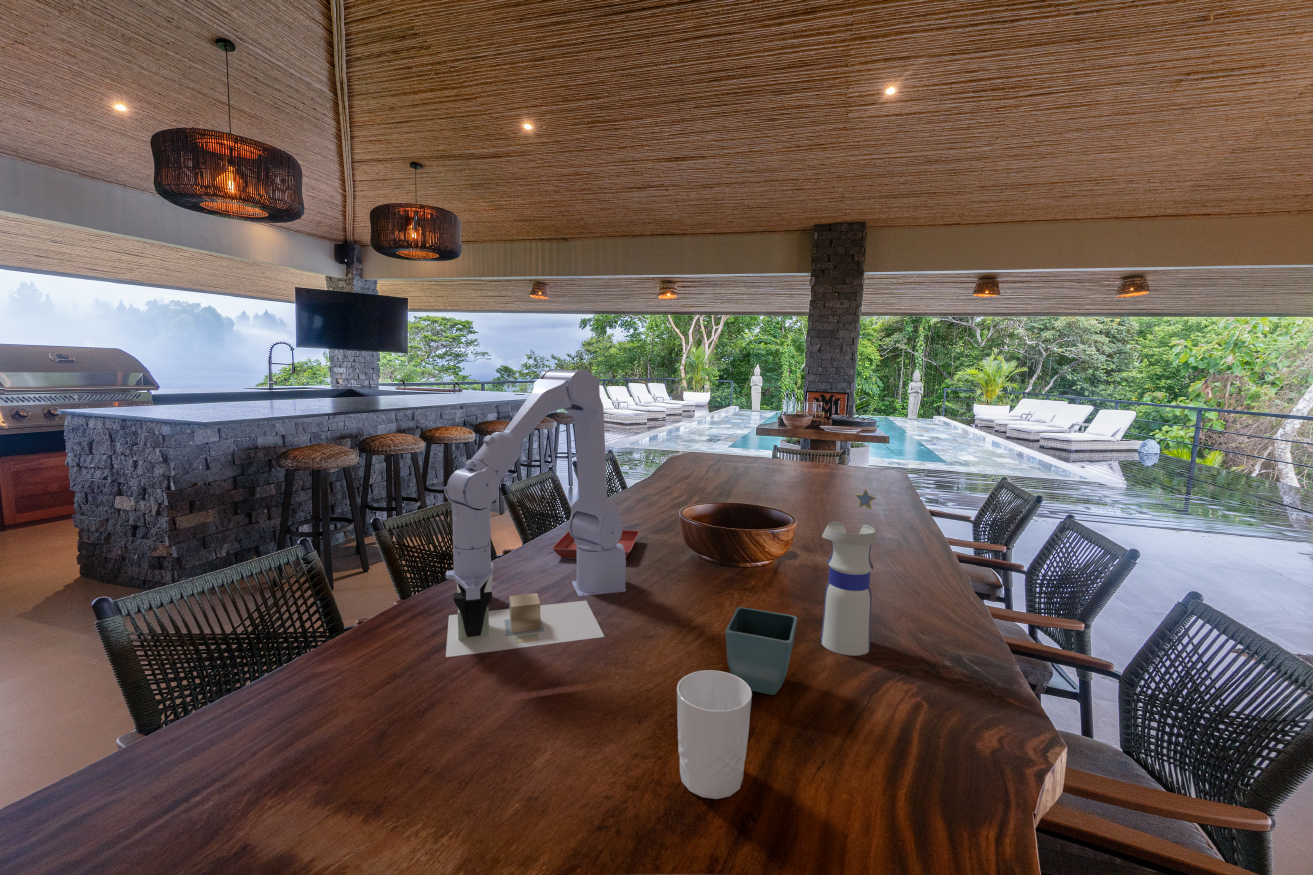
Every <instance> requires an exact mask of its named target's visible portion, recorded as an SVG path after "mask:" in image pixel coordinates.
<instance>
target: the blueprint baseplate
mask: <svg viewBox="0 0 1313 875" xmlns="http://www.w3.org/2000/svg"><path fill="white" fill-rule="evenodd" d="M447 622H448V624H447V635H446V636H447V637H446V649H445V658H452V657H459V656H469V655H474V654H483V653H484V654H485V653H490V652H491V653H492V652H497V651H498V652H500V651H506V650H507V651H508V650H513V649H521V648H530V647H537V646H545V645H552V644H553V645H554V644H561V643H570V642H576V641H577V642H578V641H583V640H590V639H591V640H592V639H599V638H605V634H604V632H603V631H602V629H601V627H600V625H599V623H598V621H597V619H596V617H595V615H594V613H593V611H592V609H591V607H590V605H589V603H588V601H587V600H581V601H580V600H578V601H569V602H561V603H553V604H552V603H551V604H550V603H549V604H542V605H541V604H540V630H531V631H523V632H515V633H512V632H511V626H510V608H504V609H497V610H489V636H485V637H477V638H469V639H461V640H458V613H457V614H449V615H448V621H447Z"/></svg>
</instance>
